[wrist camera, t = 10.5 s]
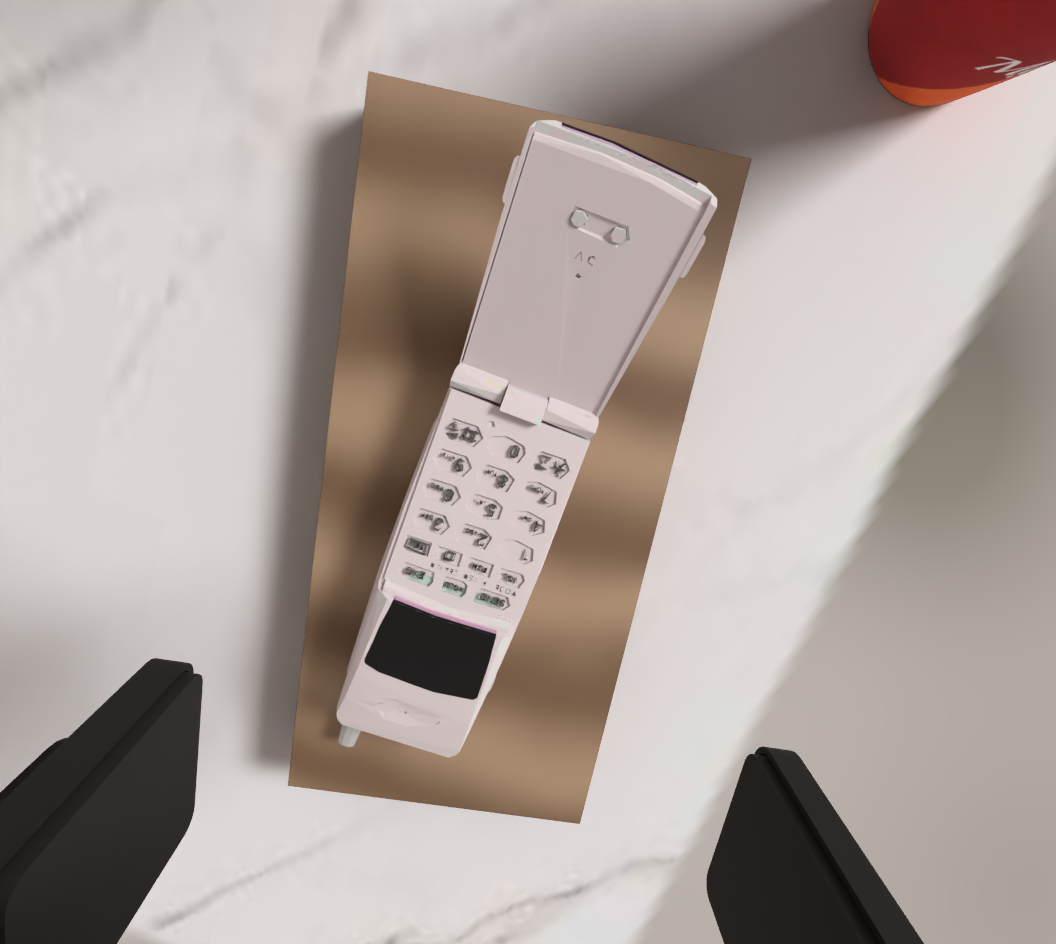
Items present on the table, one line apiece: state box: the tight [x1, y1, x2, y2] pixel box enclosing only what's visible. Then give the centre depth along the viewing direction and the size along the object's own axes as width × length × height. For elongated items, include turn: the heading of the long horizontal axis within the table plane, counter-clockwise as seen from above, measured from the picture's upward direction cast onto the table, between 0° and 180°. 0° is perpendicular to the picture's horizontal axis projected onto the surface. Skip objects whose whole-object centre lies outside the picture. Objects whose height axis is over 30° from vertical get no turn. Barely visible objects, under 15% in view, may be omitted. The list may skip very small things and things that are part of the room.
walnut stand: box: [288, 71, 751, 824], centre depth 26 cm, size 30×14×3 cm, turn 169°
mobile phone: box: [336, 120, 717, 758], centre depth 22 cm, size 6×6×25 cm
